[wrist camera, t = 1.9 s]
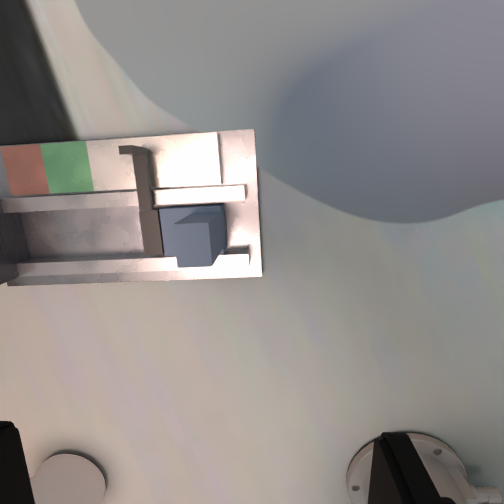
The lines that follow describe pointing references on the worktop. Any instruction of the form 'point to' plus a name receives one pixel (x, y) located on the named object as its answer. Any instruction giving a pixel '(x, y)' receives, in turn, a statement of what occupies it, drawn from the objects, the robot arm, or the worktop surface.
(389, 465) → the robot arm
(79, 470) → the beverage can
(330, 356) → the worktop surface
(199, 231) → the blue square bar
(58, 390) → the worktop surface
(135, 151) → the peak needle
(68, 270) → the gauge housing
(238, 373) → the worktop surface
